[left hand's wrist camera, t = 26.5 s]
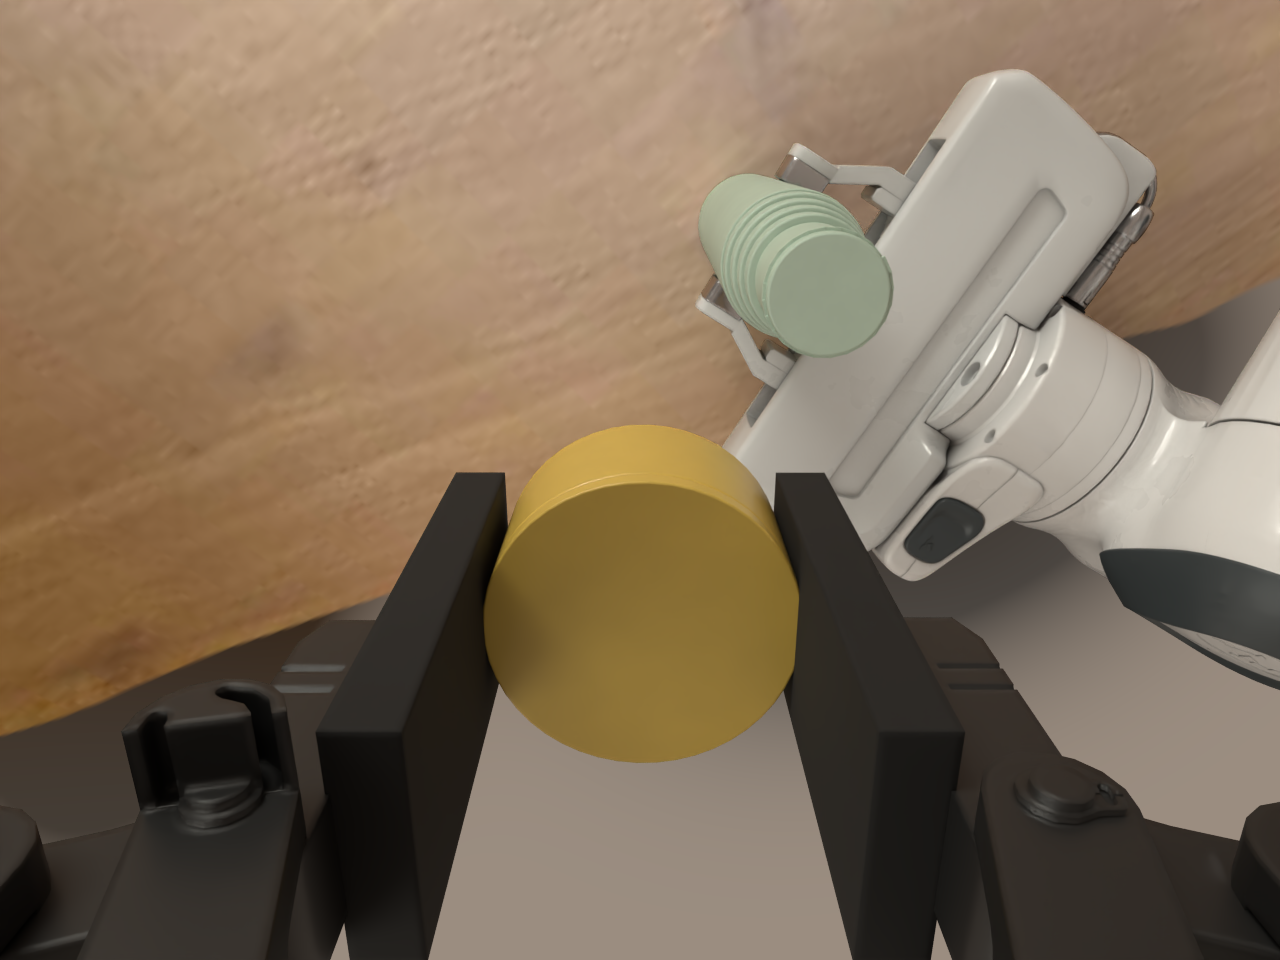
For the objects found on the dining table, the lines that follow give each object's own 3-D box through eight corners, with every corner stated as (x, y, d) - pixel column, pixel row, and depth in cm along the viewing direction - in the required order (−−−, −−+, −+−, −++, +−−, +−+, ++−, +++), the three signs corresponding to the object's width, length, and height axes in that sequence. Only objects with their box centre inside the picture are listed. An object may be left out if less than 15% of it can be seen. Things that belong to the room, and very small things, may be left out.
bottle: (725, 290, 44) (785, 415, 24) (681, 203, 43) (705, 257, 22) (811, 244, 43) (949, 333, 23) (769, 155, 42) (877, 164, 22)
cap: (835, 537, 14) (871, 613, 12) (659, 713, 15) (662, 813, 13) (624, 366, 13) (620, 413, 11) (453, 568, 15) (417, 649, 12)
